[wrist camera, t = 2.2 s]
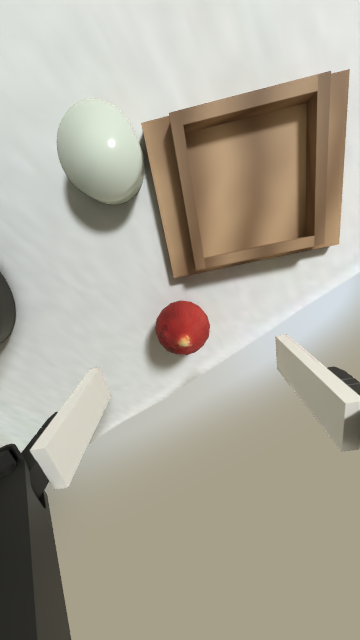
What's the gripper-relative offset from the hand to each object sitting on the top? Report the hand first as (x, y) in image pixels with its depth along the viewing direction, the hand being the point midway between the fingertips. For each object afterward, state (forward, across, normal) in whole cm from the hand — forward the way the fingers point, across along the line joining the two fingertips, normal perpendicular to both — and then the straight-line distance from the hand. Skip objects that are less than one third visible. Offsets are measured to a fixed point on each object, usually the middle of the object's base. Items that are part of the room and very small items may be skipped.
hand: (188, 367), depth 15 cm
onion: (+12, 0, 0) cm, 12 cm away
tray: (+11, +9, +12) cm, 19 cm away
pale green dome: (+11, -4, +17) cm, 21 cm away
